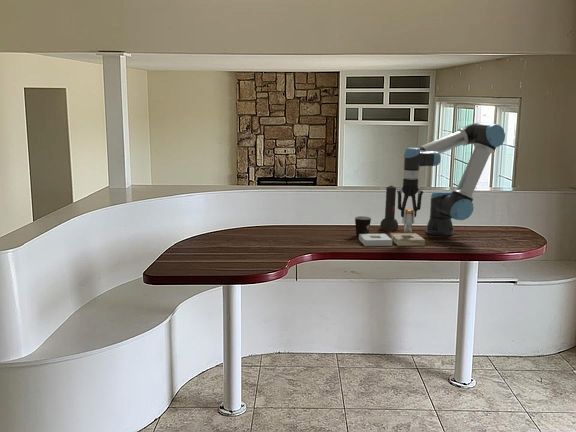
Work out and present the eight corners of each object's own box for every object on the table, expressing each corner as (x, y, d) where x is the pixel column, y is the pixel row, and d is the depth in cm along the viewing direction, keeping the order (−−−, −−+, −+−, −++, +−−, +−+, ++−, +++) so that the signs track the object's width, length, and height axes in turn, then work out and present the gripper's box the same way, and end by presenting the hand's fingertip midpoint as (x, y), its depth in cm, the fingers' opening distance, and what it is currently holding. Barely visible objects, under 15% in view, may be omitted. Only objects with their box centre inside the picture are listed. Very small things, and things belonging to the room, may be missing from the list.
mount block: (358, 239, 334) (358, 233, 333) (384, 239, 336) (385, 233, 335) (364, 246, 320) (365, 240, 320) (392, 245, 322) (392, 240, 321)
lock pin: (402, 231, 331) (403, 209, 328) (410, 231, 331) (411, 209, 329) (405, 232, 327) (406, 210, 324) (412, 232, 327) (413, 210, 325)
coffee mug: (360, 238, 336) (360, 220, 334) (351, 235, 344) (351, 217, 342) (378, 236, 341) (378, 218, 339) (368, 233, 349) (369, 215, 347)
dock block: (390, 239, 336) (390, 233, 335) (415, 238, 338) (416, 233, 337) (397, 245, 322) (398, 239, 322) (424, 245, 324) (424, 239, 323)
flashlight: (376, 228, 362) (387, 231, 353) (378, 184, 357) (390, 187, 348) (390, 226, 367) (401, 230, 358) (392, 183, 362) (404, 186, 353)
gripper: (396, 179, 319) (394, 224, 323) (429, 179, 321) (426, 224, 325) (392, 177, 326) (390, 221, 331) (424, 177, 328) (421, 221, 333)
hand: (408, 223), depth 328 cm, fingers closed on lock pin, 4 cm apart
